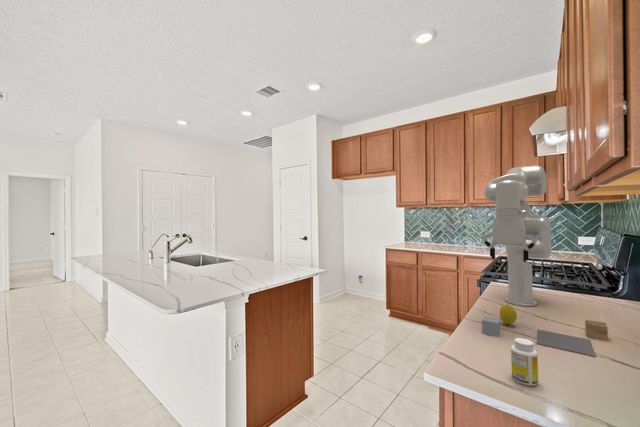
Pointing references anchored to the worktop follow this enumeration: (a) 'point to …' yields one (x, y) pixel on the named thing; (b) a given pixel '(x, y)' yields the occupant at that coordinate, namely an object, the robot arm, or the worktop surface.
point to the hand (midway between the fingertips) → (508, 260)
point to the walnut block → (596, 330)
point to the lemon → (507, 314)
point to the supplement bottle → (524, 362)
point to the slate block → (491, 326)
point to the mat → (565, 342)
